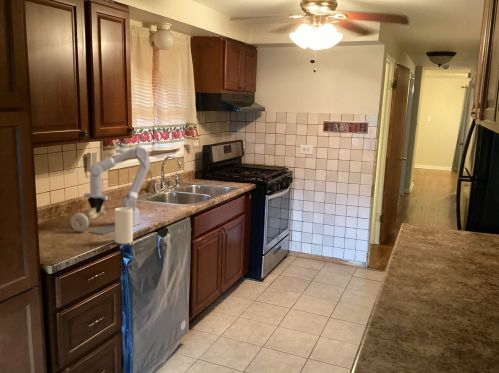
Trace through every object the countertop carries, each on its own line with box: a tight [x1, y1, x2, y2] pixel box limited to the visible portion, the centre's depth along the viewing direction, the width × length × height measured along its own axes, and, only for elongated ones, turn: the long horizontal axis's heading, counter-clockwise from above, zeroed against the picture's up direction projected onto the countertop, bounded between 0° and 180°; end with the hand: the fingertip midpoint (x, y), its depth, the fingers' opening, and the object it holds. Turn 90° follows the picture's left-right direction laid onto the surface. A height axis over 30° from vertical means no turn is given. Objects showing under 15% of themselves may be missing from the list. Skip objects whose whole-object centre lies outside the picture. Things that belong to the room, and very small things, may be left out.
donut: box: [70, 212, 90, 233], centre depth 231 cm, size 10×3×10 cm, turn 76°
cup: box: [114, 206, 134, 244], centre depth 216 cm, size 8×8×16 cm
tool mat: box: [88, 224, 115, 236], centre depth 237 cm, size 18×9×1 cm, turn 158°
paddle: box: [84, 204, 108, 220], centre depth 242 cm, size 14×2×5 cm, turn 158°
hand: (96, 211), depth 242 cm, fingers closed on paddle, 2 cm apart
